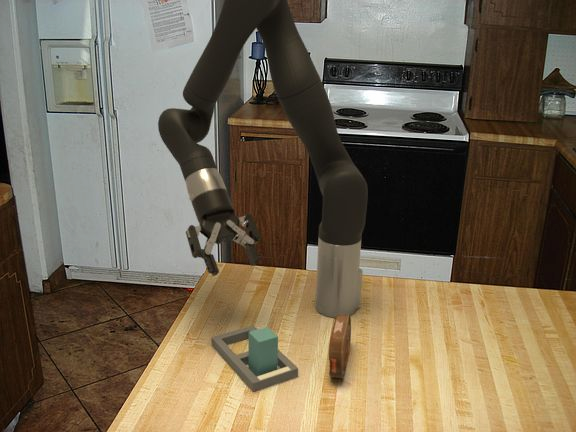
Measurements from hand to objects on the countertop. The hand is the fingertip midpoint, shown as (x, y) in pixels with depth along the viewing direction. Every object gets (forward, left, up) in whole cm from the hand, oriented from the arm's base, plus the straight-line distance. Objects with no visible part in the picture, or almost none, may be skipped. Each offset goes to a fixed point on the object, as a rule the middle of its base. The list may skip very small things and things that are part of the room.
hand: (235, 269), depth 124 cm
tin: (-14, +17, -16) cm, 27 cm away
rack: (0, +8, -16) cm, 18 cm away
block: (+1, +12, -16) cm, 20 cm away
